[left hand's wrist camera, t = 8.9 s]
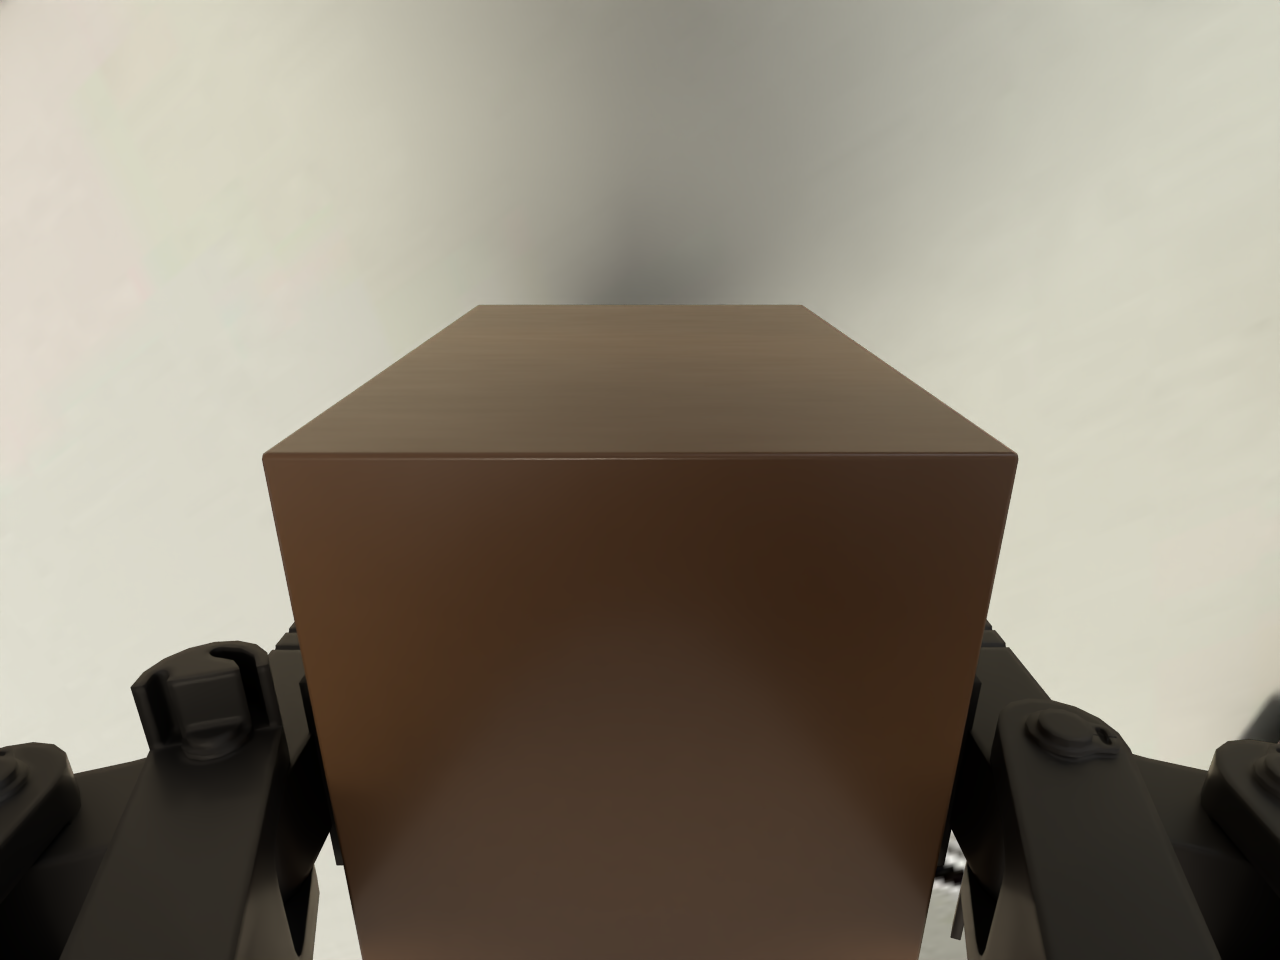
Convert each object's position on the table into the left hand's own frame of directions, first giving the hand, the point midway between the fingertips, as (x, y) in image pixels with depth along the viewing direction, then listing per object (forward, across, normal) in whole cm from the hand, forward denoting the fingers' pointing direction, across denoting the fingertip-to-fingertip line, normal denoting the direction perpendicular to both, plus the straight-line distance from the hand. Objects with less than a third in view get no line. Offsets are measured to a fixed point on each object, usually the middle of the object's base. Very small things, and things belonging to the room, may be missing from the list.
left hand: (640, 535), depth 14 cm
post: (0, 0, -33) cm, 33 cm away
